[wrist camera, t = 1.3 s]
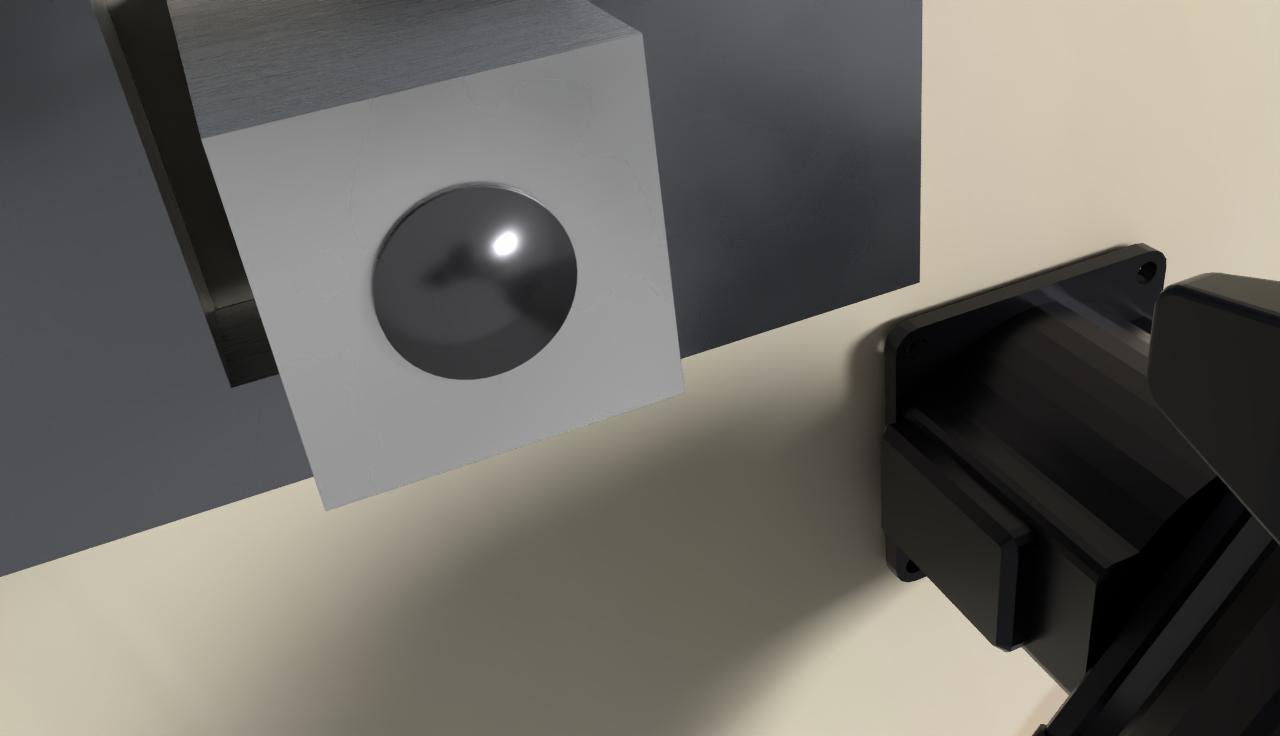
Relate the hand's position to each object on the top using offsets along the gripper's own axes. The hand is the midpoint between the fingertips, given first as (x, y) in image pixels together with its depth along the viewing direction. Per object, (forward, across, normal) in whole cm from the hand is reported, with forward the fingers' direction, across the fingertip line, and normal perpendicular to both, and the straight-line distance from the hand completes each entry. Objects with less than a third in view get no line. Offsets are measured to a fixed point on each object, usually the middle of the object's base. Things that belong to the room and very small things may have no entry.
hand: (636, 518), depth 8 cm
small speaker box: (+11, 0, 0) cm, 11 cm away
